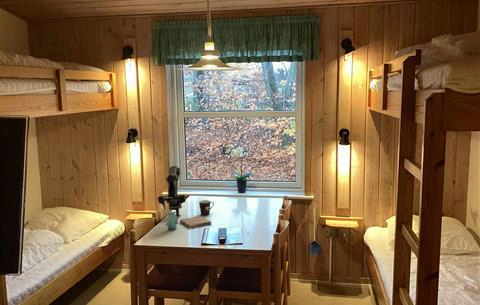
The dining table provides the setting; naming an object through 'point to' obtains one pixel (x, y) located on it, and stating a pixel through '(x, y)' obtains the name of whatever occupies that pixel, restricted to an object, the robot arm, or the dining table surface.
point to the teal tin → (171, 220)
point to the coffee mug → (205, 207)
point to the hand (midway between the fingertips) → (171, 209)
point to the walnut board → (195, 222)
